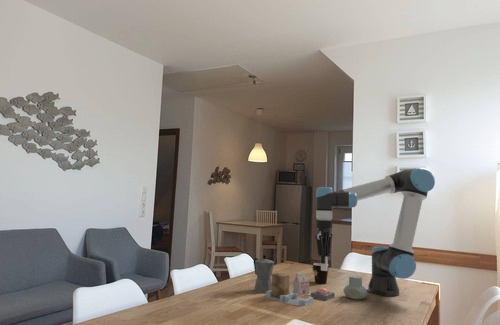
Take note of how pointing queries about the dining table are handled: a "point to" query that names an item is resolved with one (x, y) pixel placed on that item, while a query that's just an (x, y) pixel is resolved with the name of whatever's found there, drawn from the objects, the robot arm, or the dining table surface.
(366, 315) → the dining table surface
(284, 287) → the walnut block
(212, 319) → the dining table surface
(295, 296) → the board
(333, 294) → the switch box
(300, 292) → the tea bag
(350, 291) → the air freshener
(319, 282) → the coffee mug
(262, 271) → the coffeepot
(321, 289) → the button
